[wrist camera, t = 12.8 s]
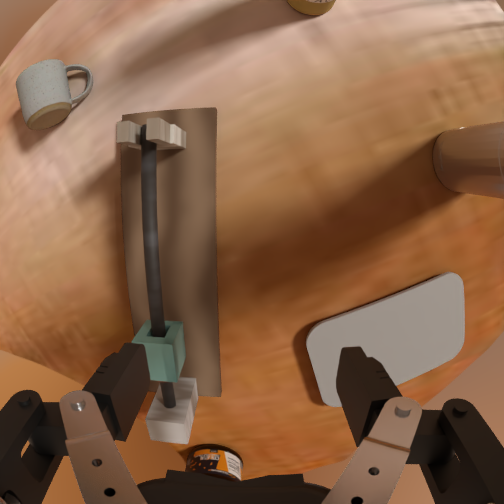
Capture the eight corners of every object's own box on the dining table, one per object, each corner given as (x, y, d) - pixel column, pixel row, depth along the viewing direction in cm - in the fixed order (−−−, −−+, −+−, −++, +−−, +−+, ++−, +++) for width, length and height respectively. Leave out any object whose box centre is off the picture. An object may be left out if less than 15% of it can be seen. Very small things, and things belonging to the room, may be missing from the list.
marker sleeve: (182, 321, 36) (172, 344, 31) (186, 356, 37) (177, 382, 32) (146, 319, 36) (131, 341, 31) (151, 354, 37) (138, 378, 32)
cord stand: (217, 110, 35) (203, 83, 24) (221, 393, 45) (215, 446, 34) (126, 117, 35) (84, 98, 24) (148, 387, 45) (126, 435, 34)
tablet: (457, 346, 44) (463, 352, 42) (323, 403, 46) (325, 411, 44) (454, 263, 41) (462, 267, 38) (299, 322, 42) (301, 330, 40)
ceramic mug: (45, 136, 36) (14, 131, 28) (35, 92, 34) (6, 82, 26) (102, 99, 35) (75, 86, 27) (89, 55, 33) (64, 37, 26)
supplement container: (245, 444, 48) (244, 496, 36) (241, 474, 50) (240, 521, 38) (186, 438, 48) (175, 488, 36) (189, 469, 50) (180, 515, 38)
